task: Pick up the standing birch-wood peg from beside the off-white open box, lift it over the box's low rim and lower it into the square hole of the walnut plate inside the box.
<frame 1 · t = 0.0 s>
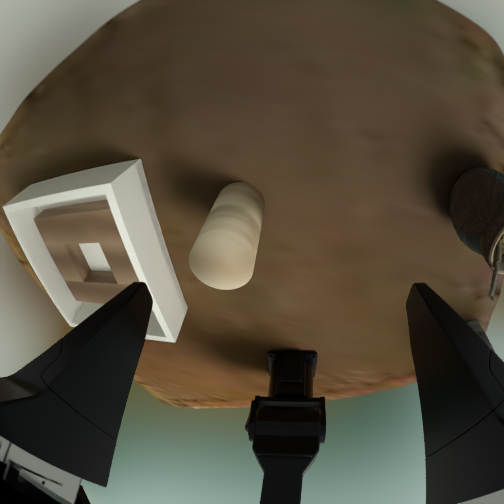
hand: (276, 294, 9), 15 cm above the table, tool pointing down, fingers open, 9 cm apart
bore plate: (99, 252, 28), resting on open box
open box: (103, 246, 29), on the table
peg: (240, 204, 24), on the table
mate gourd: (469, 195, 20), on the table
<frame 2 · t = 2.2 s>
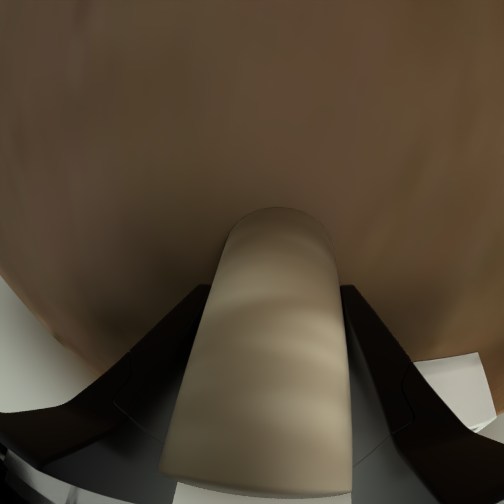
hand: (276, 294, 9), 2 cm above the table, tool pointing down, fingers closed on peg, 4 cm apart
open box: (334, 415, 19), on the table
peg: (279, 255, 11), on the table, touching gripper
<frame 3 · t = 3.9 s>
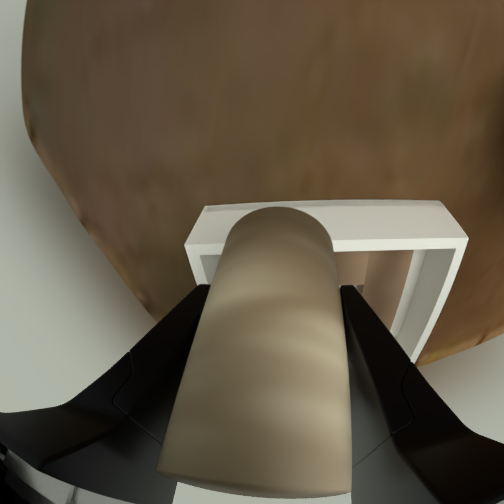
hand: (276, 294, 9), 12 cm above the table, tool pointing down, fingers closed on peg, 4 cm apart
bore plate: (326, 291, 24), resting on open box
open box: (325, 283, 24), on the table
peg: (279, 254, 11), point 10 cm above the table, touching gripper
when the fingers open (4 cm above the table, at t = 6.1 s): peg stays where it is, resting on open box.
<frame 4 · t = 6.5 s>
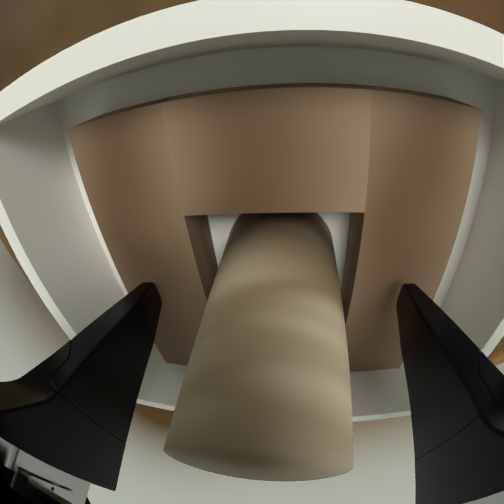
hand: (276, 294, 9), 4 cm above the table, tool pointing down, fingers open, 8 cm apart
bore plate: (279, 246, 11), resting on open box
open box: (280, 232, 12), on the table
peg: (280, 246, 11), point 1 cm above the table, touching open box
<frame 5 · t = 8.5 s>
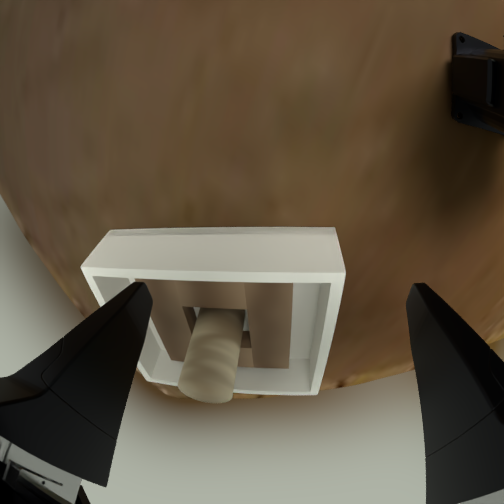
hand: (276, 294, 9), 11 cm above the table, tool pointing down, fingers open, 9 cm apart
bore plate: (222, 311, 25), resting on open box
open box: (224, 303, 26), on the table
peg: (222, 311, 25), point 1 cm above the table, touching open box
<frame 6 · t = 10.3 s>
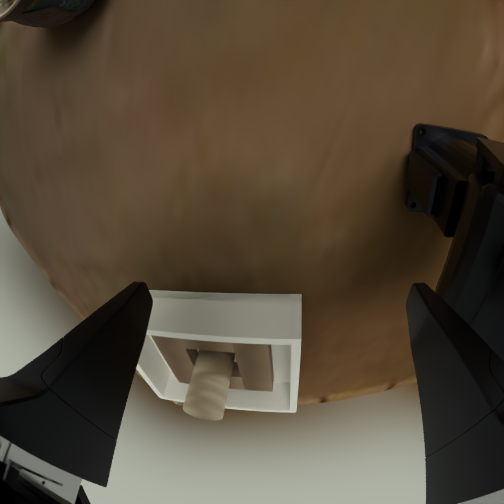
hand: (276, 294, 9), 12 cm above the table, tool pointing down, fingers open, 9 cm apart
bore plate: (217, 349, 31), resting on open box
open box: (219, 342, 32), on the table
peg: (218, 349, 31), point 1 cm above the table, touching open box
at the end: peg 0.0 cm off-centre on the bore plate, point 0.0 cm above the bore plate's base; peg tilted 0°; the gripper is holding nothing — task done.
